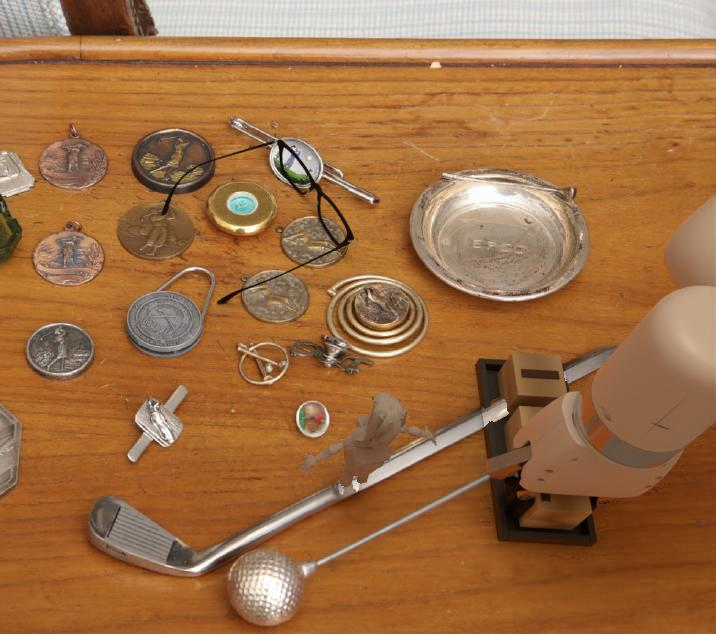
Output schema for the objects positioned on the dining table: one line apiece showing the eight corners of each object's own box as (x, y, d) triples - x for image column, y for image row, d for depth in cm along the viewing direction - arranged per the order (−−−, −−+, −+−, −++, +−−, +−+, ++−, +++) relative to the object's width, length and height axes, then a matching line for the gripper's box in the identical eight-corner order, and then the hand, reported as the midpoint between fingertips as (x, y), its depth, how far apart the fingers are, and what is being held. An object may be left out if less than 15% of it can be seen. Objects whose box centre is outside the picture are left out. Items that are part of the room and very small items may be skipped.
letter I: (543, 377, 89) (561, 353, 85) (550, 419, 87) (569, 397, 83) (496, 374, 89) (512, 350, 85) (502, 416, 87) (519, 394, 83)
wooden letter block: (563, 481, 83) (584, 461, 79) (571, 530, 80) (593, 512, 76) (512, 478, 83) (531, 458, 79) (519, 527, 80) (538, 508, 76)
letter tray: (557, 371, 90) (564, 362, 88) (589, 548, 81) (597, 542, 79) (473, 366, 90) (478, 357, 89) (495, 542, 81) (502, 536, 80)
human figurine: (402, 459, 85) (455, 367, 70) (417, 497, 83) (476, 410, 68) (278, 487, 84) (305, 399, 68) (290, 526, 82) (321, 445, 66)
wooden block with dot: (551, 429, 86) (570, 407, 82) (558, 474, 84) (578, 454, 80) (502, 426, 86) (519, 404, 82) (509, 471, 84) (526, 450, 80)
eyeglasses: (356, 260, 97) (363, 237, 93) (225, 317, 93) (228, 296, 90) (277, 154, 104) (281, 129, 101) (153, 203, 101) (153, 179, 97)
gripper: (739, 375, 68) (629, 470, 83) (508, 361, 68) (442, 458, 84) (767, 471, 64) (647, 551, 79) (522, 455, 64) (450, 538, 80)
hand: (543, 502), depth 81 cm, fingers closed on wooden letter block, 4 cm apart
